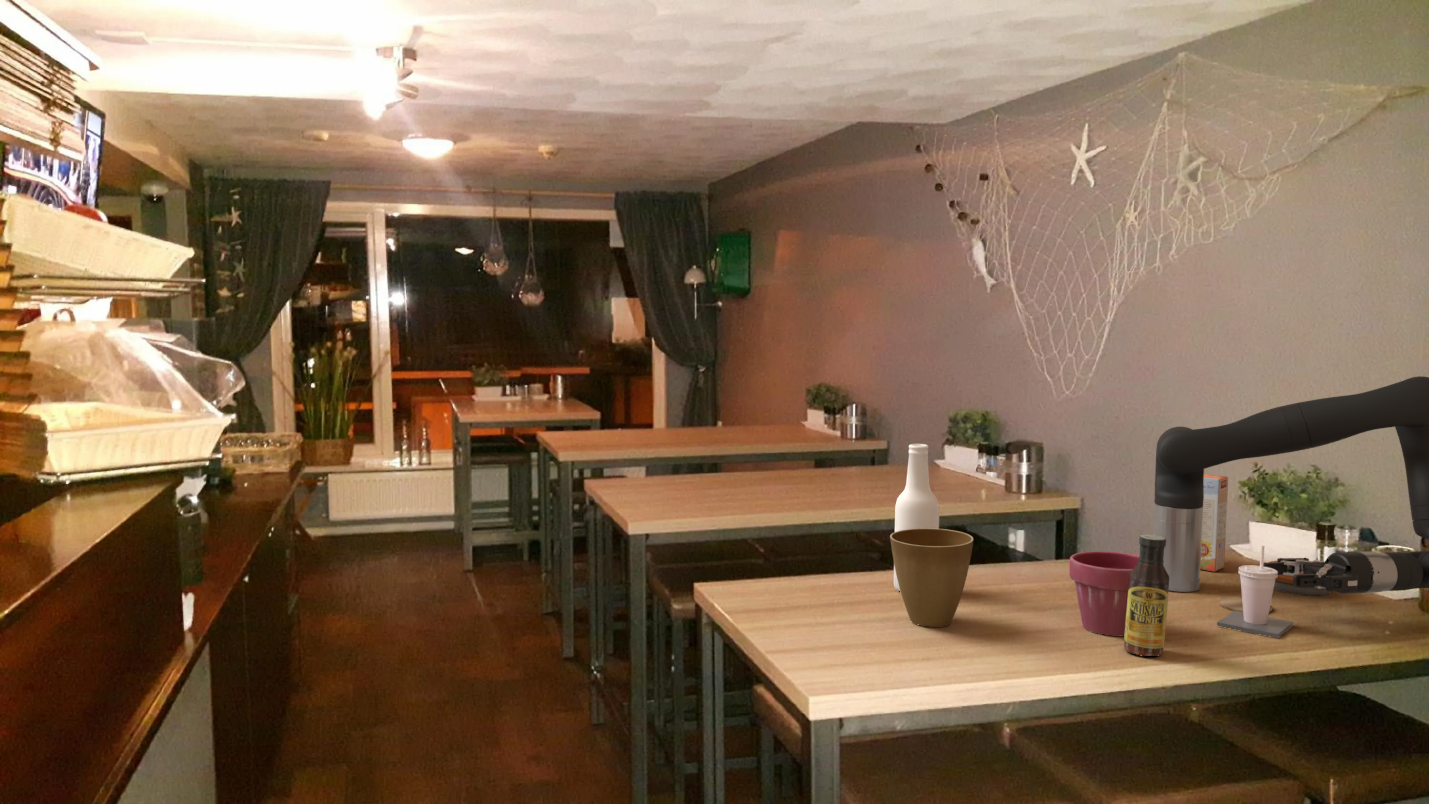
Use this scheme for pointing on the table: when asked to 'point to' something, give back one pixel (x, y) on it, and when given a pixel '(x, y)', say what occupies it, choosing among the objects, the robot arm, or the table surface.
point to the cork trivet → (1234, 604)
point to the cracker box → (1214, 522)
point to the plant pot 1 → (931, 572)
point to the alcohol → (916, 497)
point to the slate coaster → (1256, 625)
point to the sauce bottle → (1147, 599)
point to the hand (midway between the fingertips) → (1278, 574)
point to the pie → (1286, 585)
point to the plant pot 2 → (1102, 589)
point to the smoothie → (1257, 590)
